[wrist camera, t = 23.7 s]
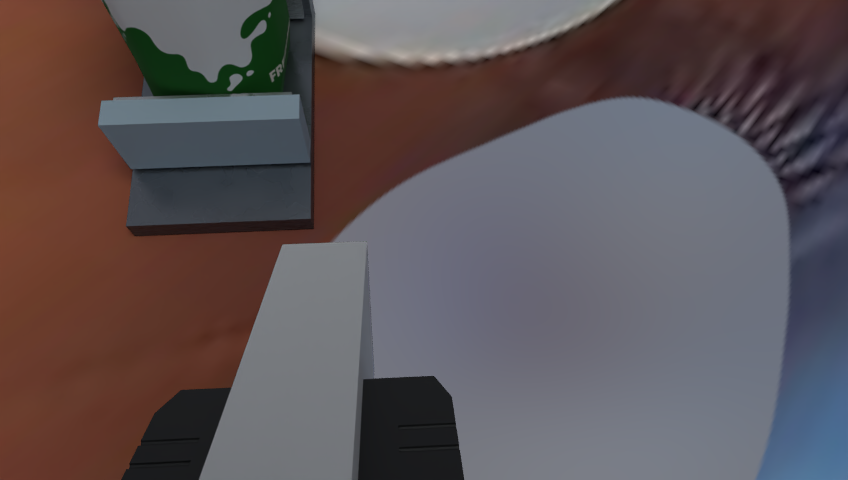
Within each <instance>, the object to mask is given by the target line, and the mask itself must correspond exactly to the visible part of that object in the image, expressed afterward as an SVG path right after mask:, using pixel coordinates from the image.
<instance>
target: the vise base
mask: <svg viewBox="0 0 848 480" xmlns="http://www.w3.org/2000/svg"><path fill="white" fill-rule="evenodd" d="M286 2H287V7H288V11H289V17H290V45H289V52H288V60H287V67H286V74H285V81H284V88H283V92H292V95H297V94H300V99H301V103H302V107H303V111H304V115H305V119H306V124H307V128H308V132H309V136H310V140H311V148H310V163H286V164H258V165H231V166H204V167H177V168H150V169H133V173H132V182H131V190H130V198H129V207H128V215H127V224H126V227H127V228H128V229H129V230H130V231H131V232H132V233H133V234H134V235H135V236H149V235H173V234H198V233H222V232H246V231H270V230H295V229H314V63H315V12H314V6H313V0H286ZM149 96H153V94H152V92H151V90H150V88H149V86H148V84H147V82H146V80H145V78H144V82H143V90H142V97H149Z"/></svg>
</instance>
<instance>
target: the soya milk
mask: <svg viewBox="0 0 848 480" xmlns="http://www.w3.org/2000/svg"><path fill="white" fill-rule="evenodd" d="M102 2H103V3H104V5H105V7H106V9H107V10H108V12H109V14H110V16H111V17H112V19H113V21H114V23H115V24H116V26H117V28H118V30H119V31H120V33H121V35H122V37H123V39H124V40H125V42H126V44H127V46H128V47H129V49H130V51H131V53H132V54H133V56H134V58H135V60H136V62H137V64H138V66H139V68H140V70H141V72H142V74H143V76H144V78H145V80H146V82H147V84H148V86H149V88H150V90H151V92H152V94H153V96H180V95H211V94H242V93H273V92H283V88H284V81H285V74H286V67H287V60H288V52H289V45H290V17H289V11H288V7H287V2H286V0H102Z"/></svg>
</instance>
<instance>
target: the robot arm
mask: <svg viewBox="0 0 848 480" xmlns="http://www.w3.org/2000/svg"><path fill="white" fill-rule="evenodd" d="M368 270H369V269H368V251H367V241H365V242H364V241H363V242H336V243H310V244H284V245H282V247H281V250H280V253H279V256H278V259H277V261H276V264H275V267H274V270H273V273H272V276H271V278H270V281H269V284H268V287H267V290H266V292H265V295H264V298H263V301H262V304H261V306H260V309H259V312H258V315H257V318H256V321H255V323H254V326H253V329H252V332H251V335H250V337H249V340H248V343H247V346H246V349H245V351H244V354H243V357H242V360H241V363H240V366H239V368H238V371H237V374H236V377H235V380H234V382H233V385H232V388H216V389H195V390H181V391H180V392H178V393H177V394H176V395H175V396H174V397H173V398H172V399H171V400H169V401H168V402H167V403H166V404H165V405H164V406H163V407H161V408H160V409H159V410H158V411H157V412H156V413H155V414H154V416H153V418H152V420H151V422H150V424H149V426H148V428H147V430H146V432H145V434H144V436H143V438H142V440H141V446H138V448H137V450H136V452H135V454H134V455H133V457H132V459H131V461H130V468H129V469H126V471H125V473H124V475H123V477H122V479H121V480H464V475H463V470H462V462H461V455H460V450H459V442H458V436H457V429H456V423H455V415H454V409H453V402H452V397H451V395H450V394H449V393H448V392H447V391H446V390H445V388H444V387H443V386H442V385H441V384H440V383H439V382H438V380H437V379H436V378H435V377H434V376H425V377H424V376H422V377H400V378H381V379H380V378H379V379H374V359H373V343H372V342H373V341H372V326H371V325H372V323H371V306H370V288H369V271H368Z"/></svg>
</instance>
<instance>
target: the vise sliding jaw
mask: <svg viewBox="0 0 848 480" xmlns="http://www.w3.org/2000/svg"><path fill="white" fill-rule="evenodd" d="M98 126H99V127H100V129H101V130H102V131H103V133H104V134H105V135H106V137H107V138H108V139H109V141H110V142H111V143H112V145H113V146H114V147H115V149H116V150H117V151H118V153H119V154H120V155H121V157H122V158H123V159H124V161H125V162H126V163H127V165H128V166H129V167H130V169H150V168H177V167H204V166H231V165H258V164H286V163H310V148H311V140H310V136H309V132H308V128H307V124H306V119H305V115H304V111H303V107H302V103H301V99H300V94H297V95H292V92H273V93H242V94H211V95H180V96H149V97H118V98H113V101H101V108H100V115H99V122H98Z"/></svg>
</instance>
